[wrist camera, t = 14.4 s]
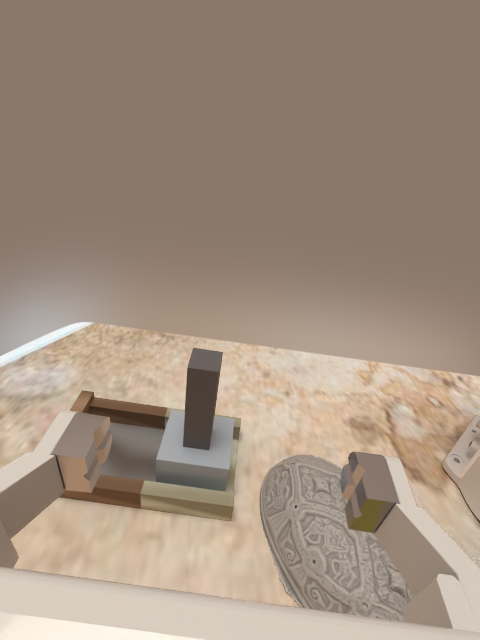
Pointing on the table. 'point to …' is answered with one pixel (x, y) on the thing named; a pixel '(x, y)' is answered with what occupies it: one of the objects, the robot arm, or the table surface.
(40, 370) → the table surface
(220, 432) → the grey pillar on base
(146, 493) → the bay
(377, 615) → the carved turtle shell
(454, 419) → the table surface
